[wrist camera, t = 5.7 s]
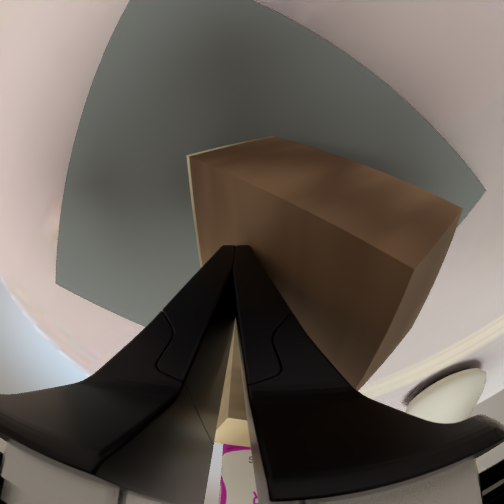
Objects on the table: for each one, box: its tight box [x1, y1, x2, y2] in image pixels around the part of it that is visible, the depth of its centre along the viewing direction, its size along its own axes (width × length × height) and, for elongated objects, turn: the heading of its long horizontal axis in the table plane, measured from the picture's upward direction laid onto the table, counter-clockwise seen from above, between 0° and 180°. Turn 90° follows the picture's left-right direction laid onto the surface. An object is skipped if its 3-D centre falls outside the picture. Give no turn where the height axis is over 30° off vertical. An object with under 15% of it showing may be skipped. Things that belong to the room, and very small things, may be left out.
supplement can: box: [219, 444, 259, 504], centre depth 23 cm, size 8×8×15 cm
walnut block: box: [186, 136, 463, 391], centre depth 9 cm, size 4×5×8 cm
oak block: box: [214, 318, 251, 447], centre depth 17 cm, size 5×5×7 cm
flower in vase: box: [405, 368, 486, 473], centre depth 17 cm, size 13×11×25 cm
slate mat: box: [56, 0, 486, 327], centre depth 15 cm, size 20×20×1 cm
